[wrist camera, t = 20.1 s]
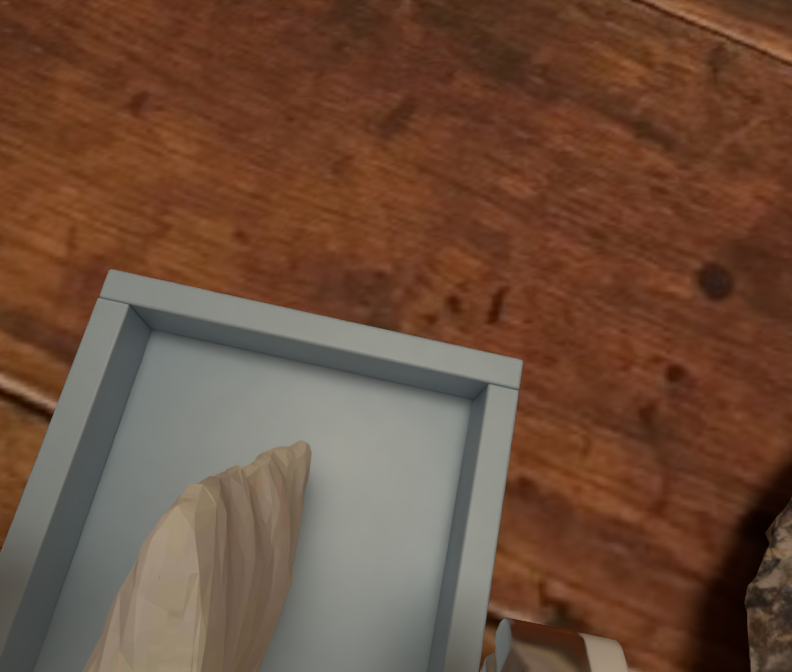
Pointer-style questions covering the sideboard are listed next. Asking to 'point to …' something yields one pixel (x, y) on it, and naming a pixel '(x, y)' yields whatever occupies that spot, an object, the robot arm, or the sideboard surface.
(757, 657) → the rock
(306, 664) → the tray
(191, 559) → the arrowhead
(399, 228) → the sideboard surface
